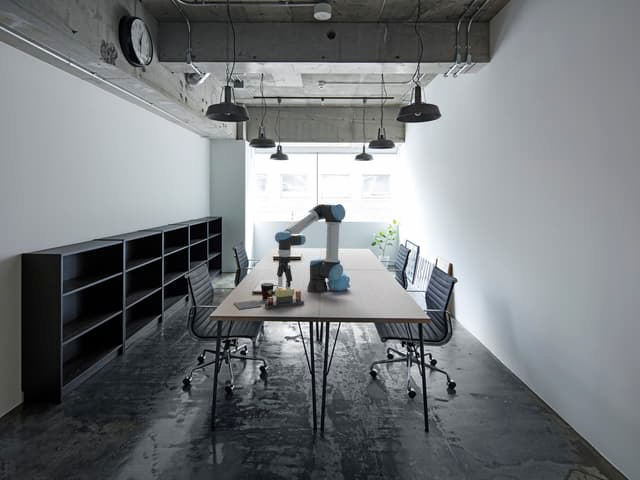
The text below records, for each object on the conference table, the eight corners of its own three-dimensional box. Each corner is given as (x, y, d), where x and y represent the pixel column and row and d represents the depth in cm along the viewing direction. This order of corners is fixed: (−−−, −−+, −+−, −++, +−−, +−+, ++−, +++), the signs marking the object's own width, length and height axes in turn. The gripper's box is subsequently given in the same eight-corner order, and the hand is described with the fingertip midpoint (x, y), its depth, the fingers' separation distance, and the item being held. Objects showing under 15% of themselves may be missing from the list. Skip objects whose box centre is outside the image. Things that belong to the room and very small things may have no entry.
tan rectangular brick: (290, 293, 244) (290, 287, 244) (294, 295, 239) (294, 289, 239) (274, 294, 239) (274, 288, 239) (278, 297, 234) (278, 290, 234)
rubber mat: (254, 301, 250) (254, 300, 250) (261, 306, 237) (261, 305, 237) (233, 303, 243) (233, 302, 243) (239, 309, 231) (239, 308, 231)
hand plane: (299, 302, 249) (299, 289, 248) (304, 304, 242) (304, 292, 241) (264, 306, 238) (264, 293, 237) (268, 309, 232) (268, 296, 231)
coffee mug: (261, 300, 251) (261, 286, 250) (260, 297, 259) (260, 283, 258) (278, 299, 253) (278, 285, 252) (277, 296, 262) (277, 282, 261)
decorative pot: (351, 292, 276) (351, 274, 274) (329, 292, 274) (329, 274, 272) (346, 287, 292) (347, 269, 290) (326, 287, 290) (326, 269, 289)
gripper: (272, 253, 246) (271, 285, 248) (286, 259, 224) (286, 294, 226) (282, 253, 249) (282, 284, 251) (298, 258, 227) (297, 293, 229)
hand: (284, 289), depth 239 cm, fingers open, 13 cm apart
